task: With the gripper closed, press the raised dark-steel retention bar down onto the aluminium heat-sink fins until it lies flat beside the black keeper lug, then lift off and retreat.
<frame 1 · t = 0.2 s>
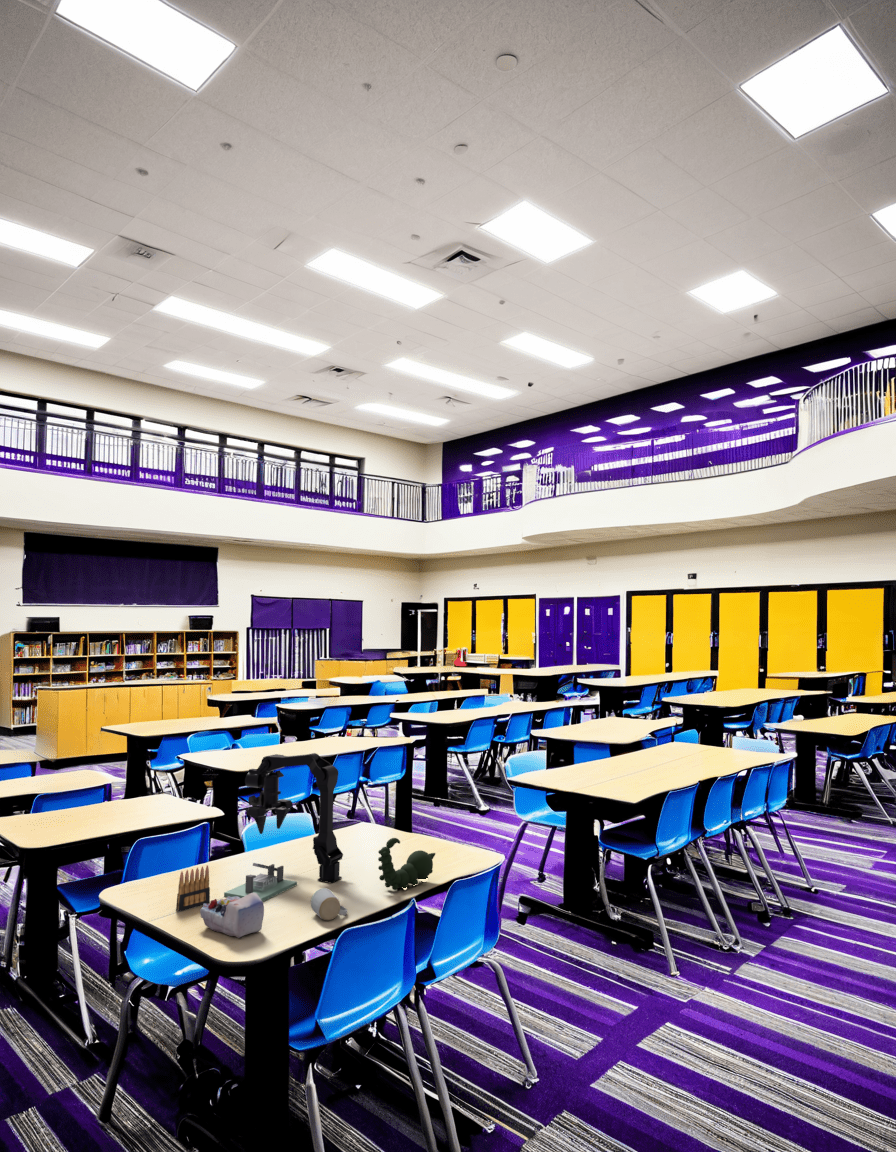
hand: (269, 831, 269), 14 cm above the table, fingers open, 9 cm apart
ammunition clip: (193, 907, 228), on the table
toy figurine: (408, 887, 250), on the table
strap: (266, 867, 247), point 7 cm above the table, hinge at 22.0°
cell model: (233, 929, 211), on the table
ceramic mug: (329, 917, 221), on the table
pivot mount: (275, 873, 252), on the board, point 4 cm above the table
heatsink: (261, 882, 245), on the board, point 3 cm above the table
board: (261, 890, 244), on the table
lug: (250, 883, 240), on the board, point 4 cm above the table
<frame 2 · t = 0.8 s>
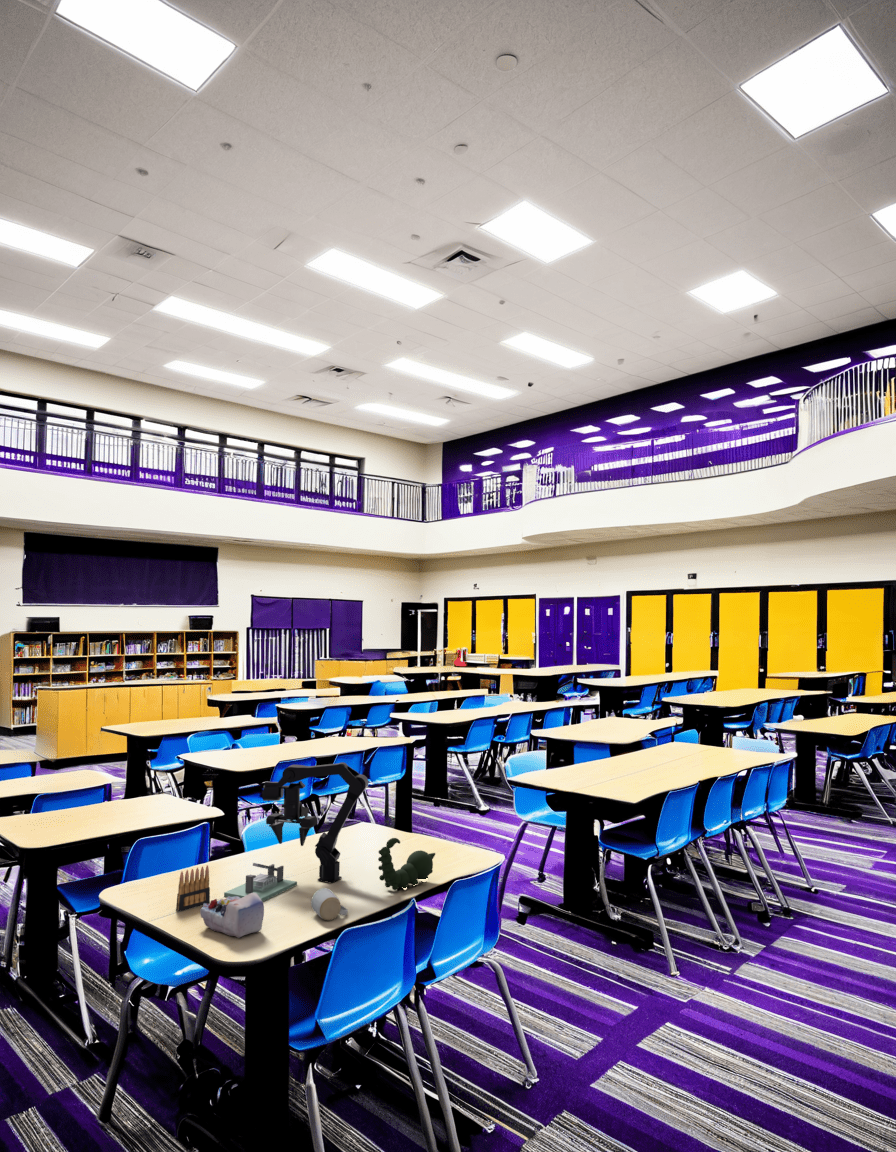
hand: (291, 844, 259), 12 cm above the table, fingers open, 9 cm apart
nothing on the table moved.
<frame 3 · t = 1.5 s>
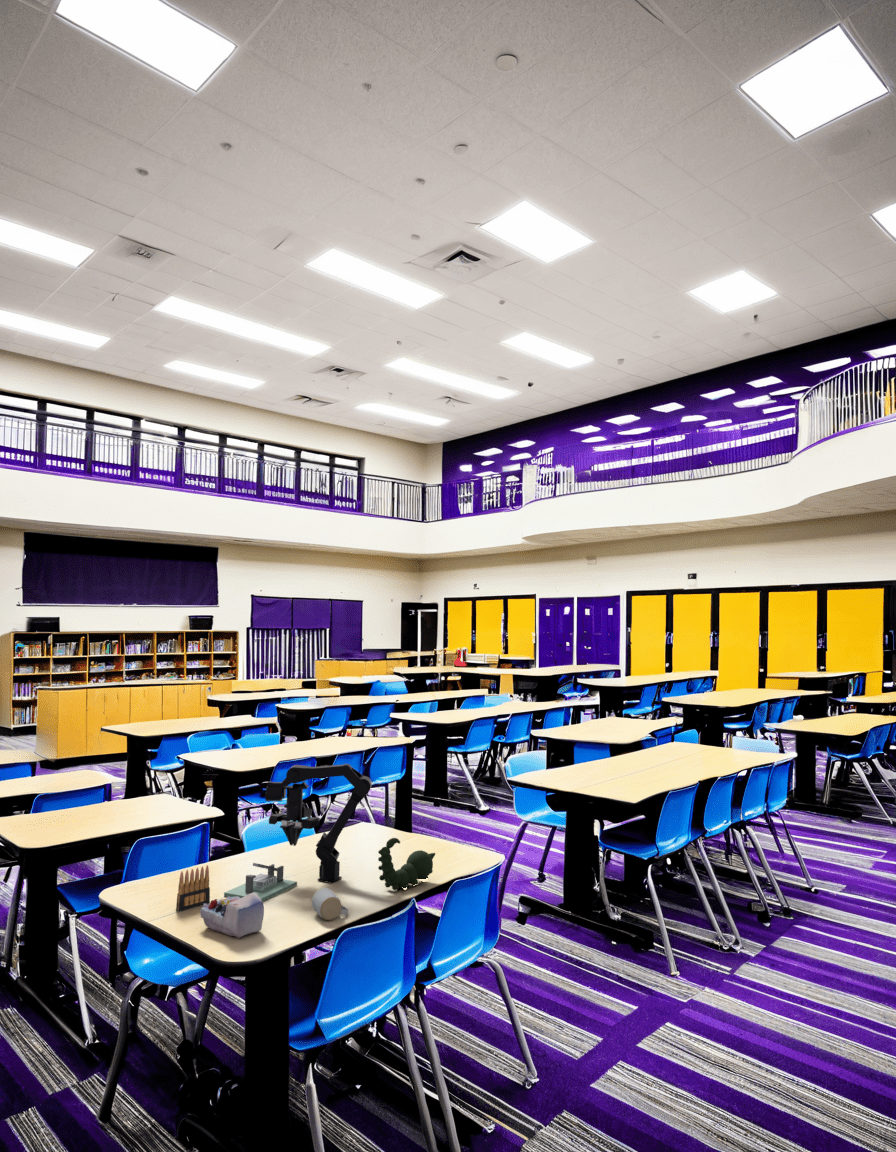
hand: (293, 845, 257), 12 cm above the table, fingers closed
nothing on the table moved.
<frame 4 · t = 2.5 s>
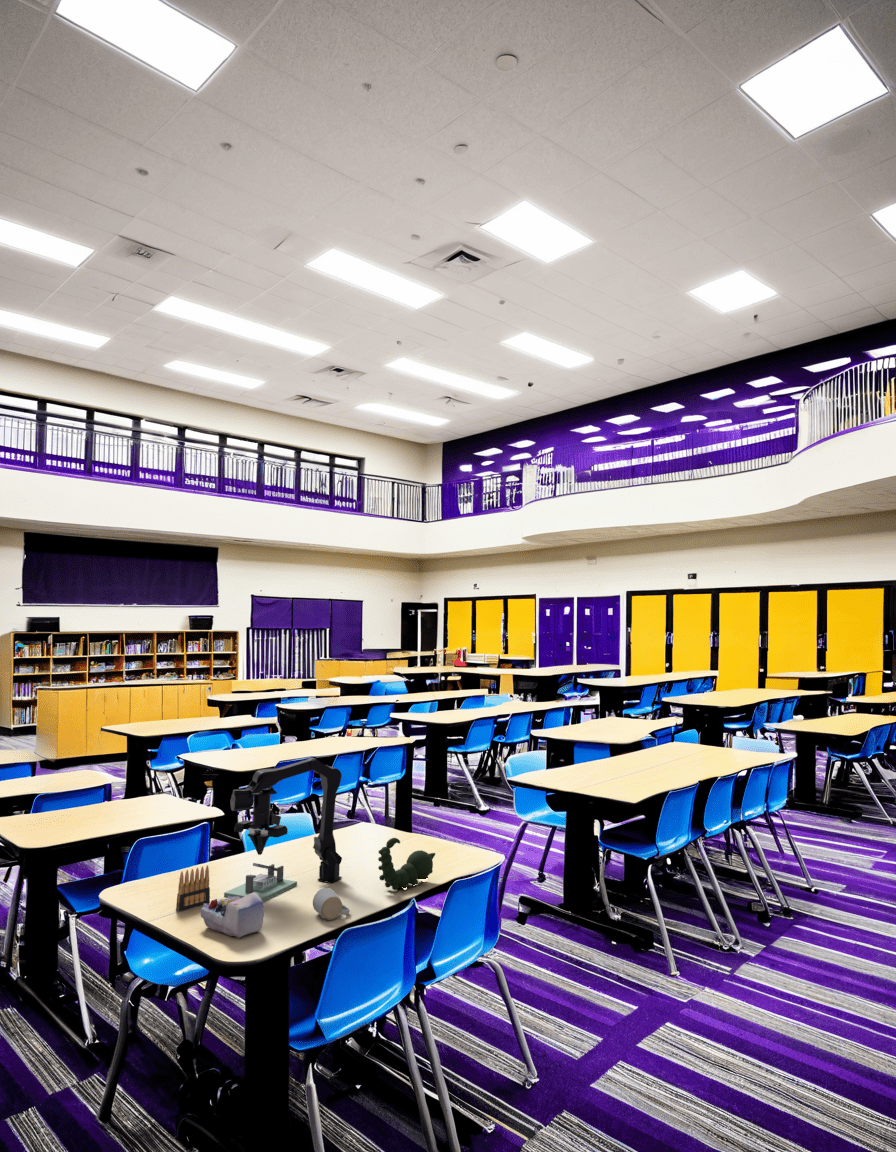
hand: (259, 854, 245), 12 cm above the table, fingers closed
nothing on the table moved.
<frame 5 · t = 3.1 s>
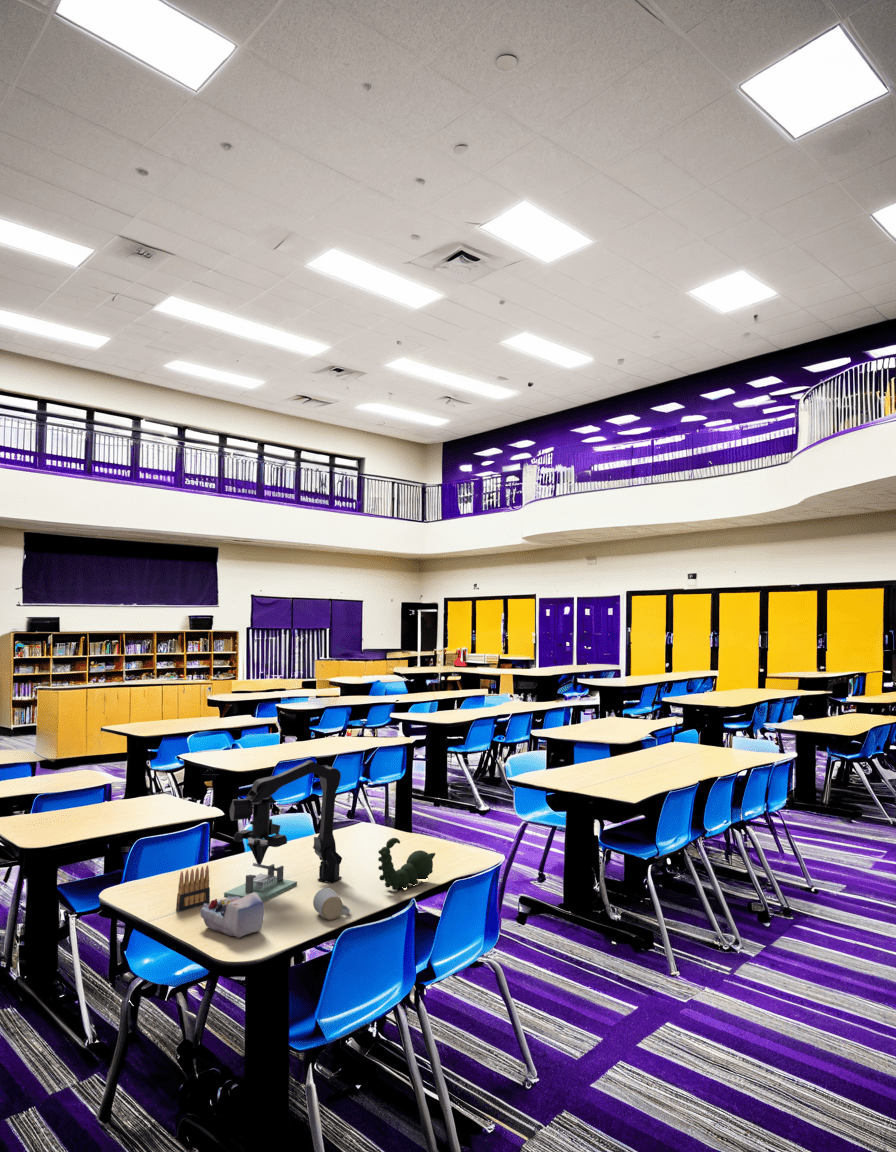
hand: (259, 864, 244), 9 cm above the table, fingers closed, pressing on strap
strap: (266, 867, 247), point 7 cm above the table, hinge at 21.8°, touching gripper
everything else where it was.
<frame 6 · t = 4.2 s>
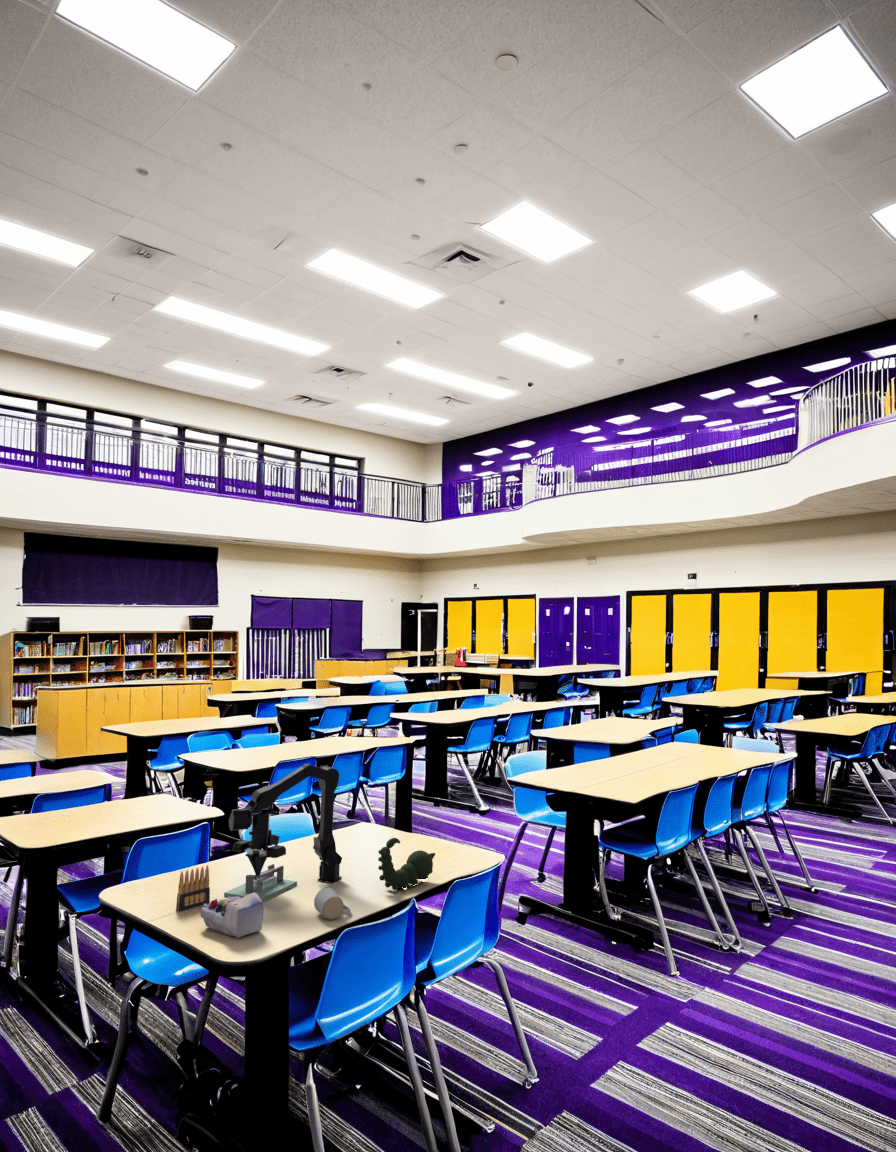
hand: (257, 875, 243), 6 cm above the table, fingers closed, pressing on strap
strap: (265, 873, 247), point 5 cm above the table, hinge at 1.8°, touching gripper
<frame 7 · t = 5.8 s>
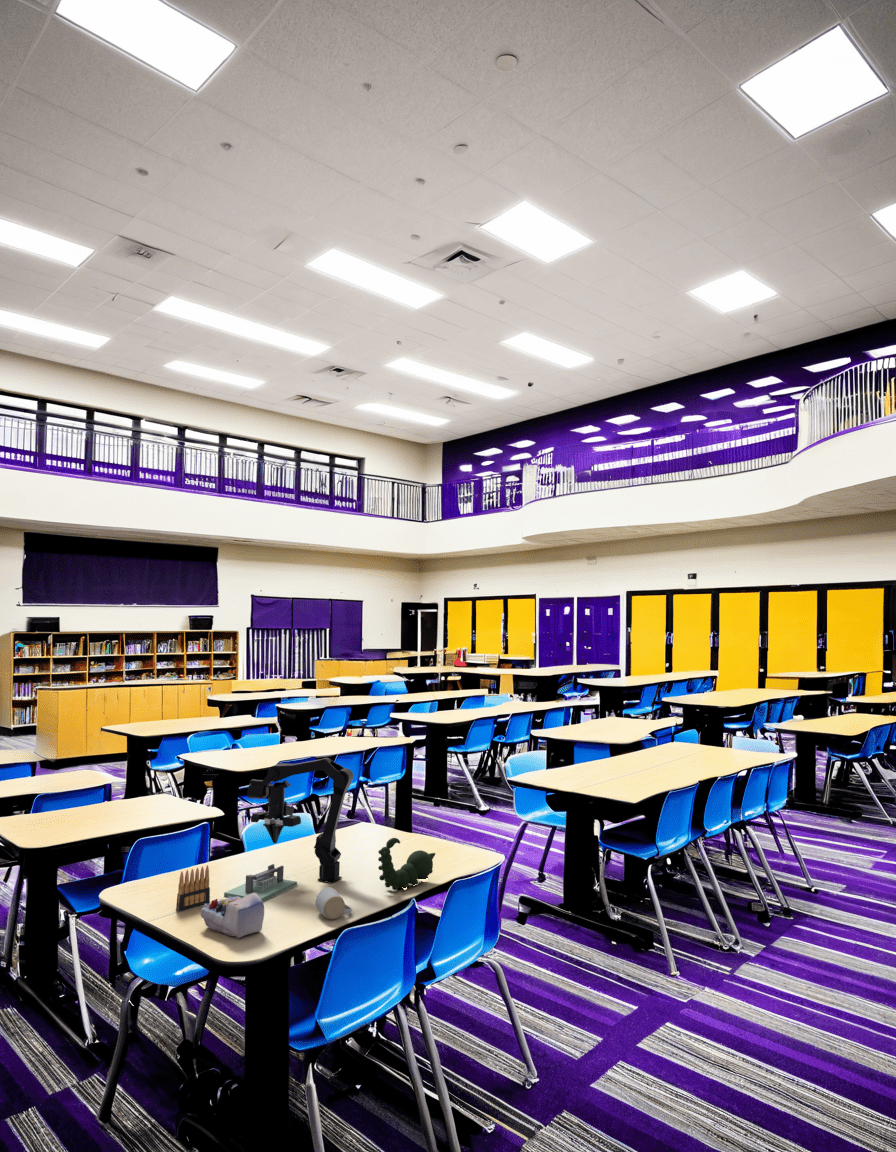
hand: (275, 843, 260), 12 cm above the table, fingers closed
strap: (265, 873, 247), point 5 cm above the table, hinge at 1.7°
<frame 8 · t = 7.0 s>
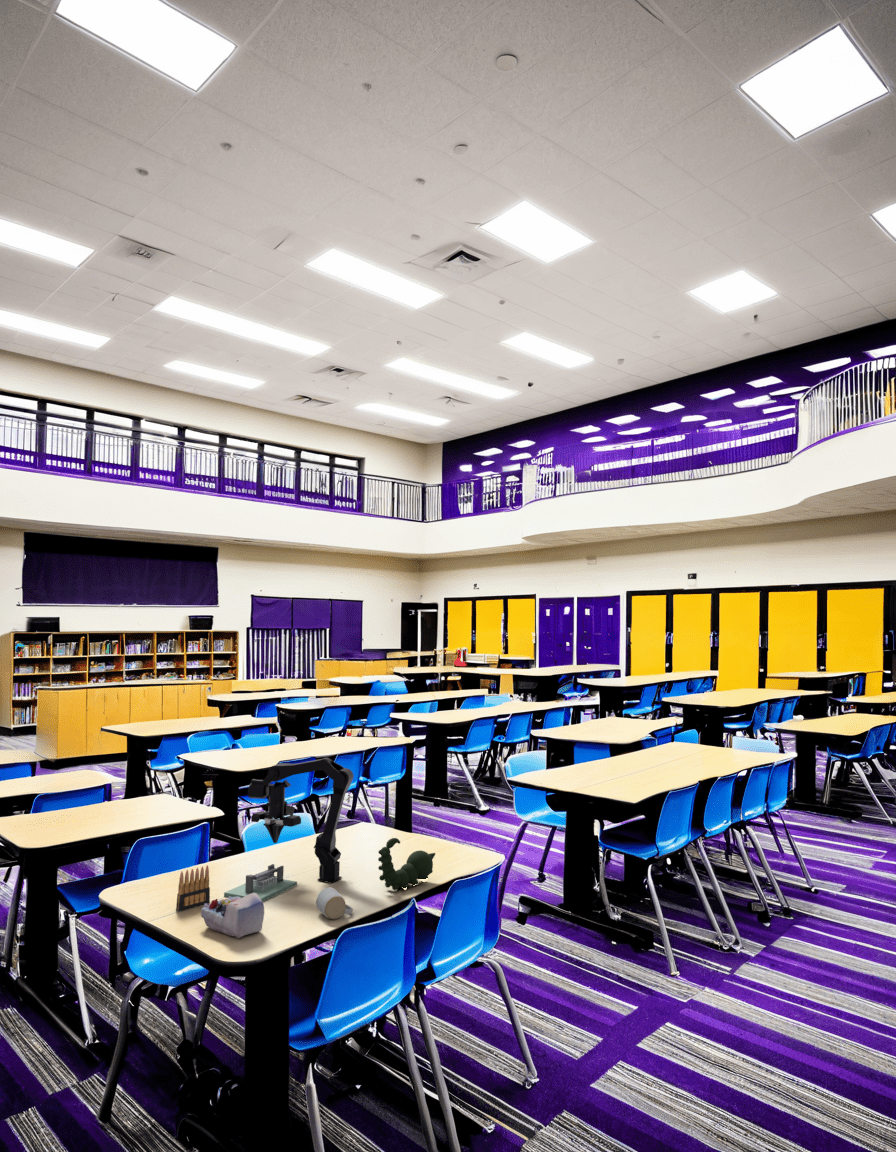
hand: (275, 842, 261), 12 cm above the table, fingers closed
at the end: strap at +2° (first picture: +22°) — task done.
